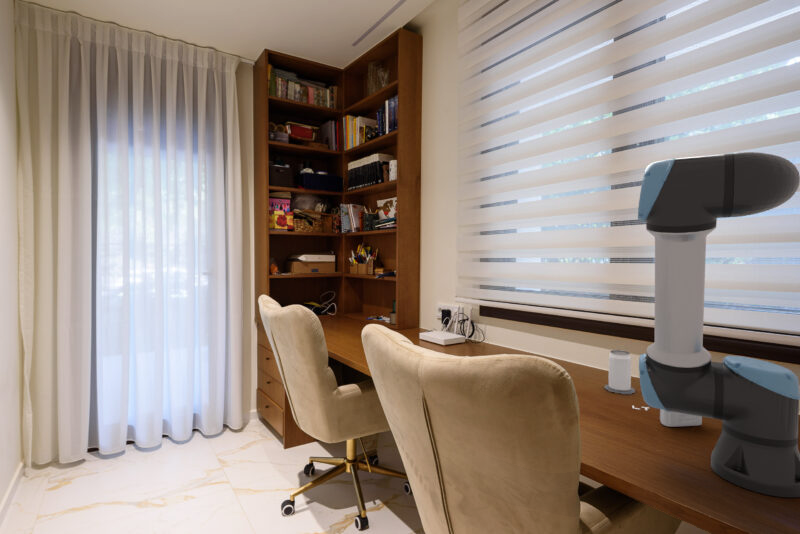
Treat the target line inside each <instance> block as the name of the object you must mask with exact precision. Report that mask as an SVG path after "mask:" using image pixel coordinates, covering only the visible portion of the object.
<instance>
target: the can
mask: <svg viewBox="0 0 800 534" xmlns="http://www.w3.org/2000/svg"><path fill="white" fill-rule="evenodd" d="M631 383H632V357H631V355H630V352H629V351H626V350H621V349H620V350H619V349H613V350H610V353H609V356H608V384H609V387H610V388H611V389H613V390H617V391H629V390H630V389H631V386H632V384H631Z"/></svg>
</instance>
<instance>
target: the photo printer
mask: <svg viewBox="0 0 800 534" xmlns="http://www.w3.org/2000/svg"><path fill="white" fill-rule="evenodd" d="M659 420H660V421H659V422H660V423H661V425H663V426H665V427H675V428H676V427H691V426H692V427H695V426H701V425H702V424H703V423H702V422H703V417H701V416H696V415H690V414H684V413H678V412H672V411H671V412H667V411H665V410H662V409H659Z"/></svg>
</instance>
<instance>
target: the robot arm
mask: <svg viewBox="0 0 800 534" xmlns="http://www.w3.org/2000/svg"><path fill="white" fill-rule="evenodd" d="M641 181H642V182H641V186H640V193H639V200H638V206H637V207H638V208H637V210H638V211H637V212H638V213H637V220H638V221H641V222H645V223H646V225H645V227H646V228H645V230H646V231H647V232H648V233H649V234H650V235H652V236H653V237H654V342H653V343H651V344H650V345H648V346H647V347H646V353H642V354H640V356H639V359H638V371H639V375H638V376H639V385H640V392H641V395H642V398H643V400H644V402H645V404H646V405H648V407H649V408H654V409H658V410H660V409H662V410H665V411H667V412H671V411H672V412H678V413H684V414H690V415H696V416H701V417H702V418H709V419H715V420H721V422H722V423H721V424H722V426H721V433H720V435H719V437H718V439H717V441H716V443H715V445H714V447H713V450H712V452H711V455H710V456H711V457H710V468H711V469H712V470H713V472H714V473H715V474H716V475H717V476H719V477H721V478H722V479H724V480H726V482H727V481H728V482H729V483H731V484H734V485H735V486H737V487H740V488H744V489H746V490H749V491H752V492H755V493H759V494H764V495H767V496H774V497H779V498H780V497H781V498H800V450H799V445H798V443H799V410H800V409H799V406H800V383H799V382H800V381H799V378H798V376H797V374H796V373H794V372H793V371H792V370H791V369H789V368H786V367H785V366H782V365H779V364H775V363H773V362H770V361H765V360H761V359H759V358H758V359H757V358H753V357H752V358H751V357H747V356H741V355H727V356H724V358H723V359H722V362H719V361H718V362H717V361H712V354H711V353H710V352H709V350H707V349H706V348H705V347H704V345H703V343H704V342H703V341H704V340H703V339H704V318H705V317H704V314H705V313H704V311H705V287H706V286H705V284H706V282H705V281H706V253H707V251H706V250H707V248H706V247H707V246H706V245H707V237H708V235H710V234H711V233H712V232H713V231H714V230H716V228H717V221H718V219H723V218H725V219H726V218H737V217H740V218H741V217H747V216H751V215H752V216H753V215H756V214H760V213H761V214H762V213H764V212H767V211H770V210H773V209H776V208H778V207H779V206H781V205H783V204H785V203H786V202H787V201H789V200H790V199H791V198H792V197H793V196H794V195H795V194H796V192H797V191H798V188H799V186H800V172H799V170H798V168H797V166H796V165H795V164H794V163H793V162H791V160H789V159H786V158H784V157H782V156H780V155H775V154H770V153H765V152H756V151H755V152H754V151H742V152H741V151H739V152H732V153H723V154H722V153H721V154H712V155H700V156H699V155H698V156H690V157H688V156H687V157H679V158H678V157H677V158H674V157H673V158H670V159H664V160H657V161H653V162H651V163H649V164H648V165H647V166H646V167H645V170H644V172H643V178H642V180H641Z"/></svg>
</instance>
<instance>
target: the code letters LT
mask: <svg viewBox="0 0 800 534" xmlns="http://www.w3.org/2000/svg"><path fill="white" fill-rule="evenodd" d="M631 407H632V409H634V410H639V411H641V408H642V409H643V408H644V410H645V411H648V410H649V409H651V407H650V406H641V408H638V407H635V405H631Z"/></svg>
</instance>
